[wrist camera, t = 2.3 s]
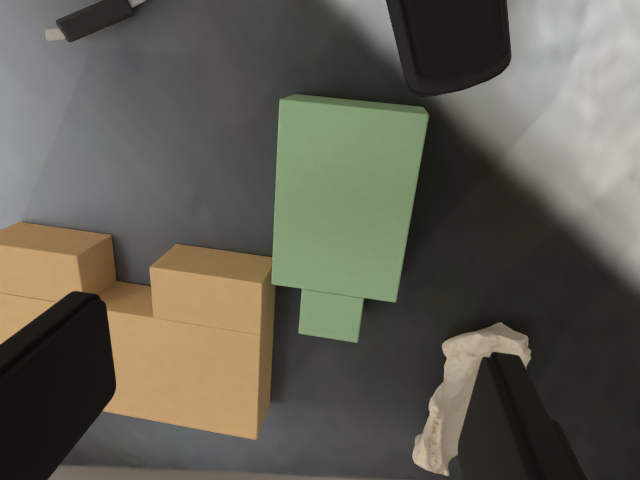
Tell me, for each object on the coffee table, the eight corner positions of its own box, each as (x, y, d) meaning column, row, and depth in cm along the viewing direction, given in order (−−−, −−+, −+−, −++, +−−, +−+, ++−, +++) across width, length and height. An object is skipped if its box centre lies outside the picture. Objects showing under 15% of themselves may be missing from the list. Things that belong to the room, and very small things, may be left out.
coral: (536, 320, 27) (564, 367, 22) (482, 442, 31) (496, 501, 27) (445, 300, 27) (455, 342, 23) (403, 423, 31) (405, 478, 27)
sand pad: (277, 257, 28) (262, 283, 24) (270, 402, 32) (256, 440, 29) (19, 221, 29) (-27, 240, 26) (47, 363, 34) (12, 394, 31)
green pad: (423, 106, 23) (429, 113, 20) (388, 315, 28) (388, 348, 25) (294, 93, 24) (279, 98, 20) (282, 299, 29) (269, 329, 25)
